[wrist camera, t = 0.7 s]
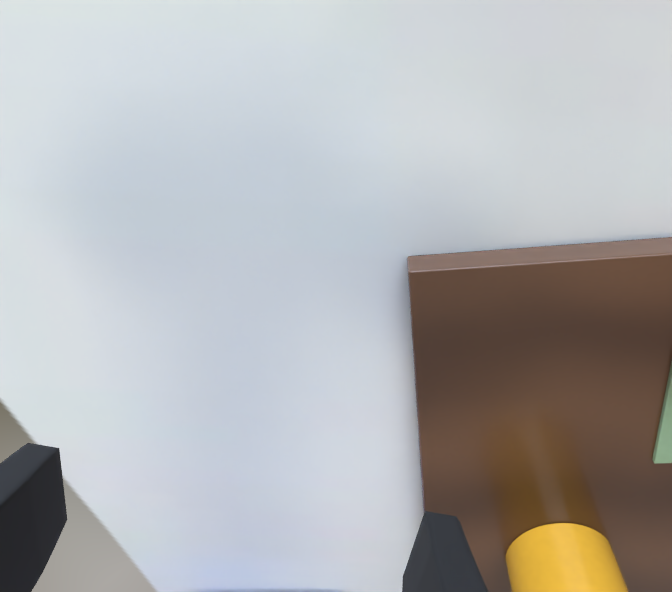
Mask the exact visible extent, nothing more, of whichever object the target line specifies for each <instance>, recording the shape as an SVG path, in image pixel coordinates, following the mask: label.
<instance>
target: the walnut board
mask: <svg viewBox="0 0 672 592" xmlns="http://www.w3.org/2000/svg"><path fill="white" fill-rule="evenodd" d="M407 262H408V277H409V293H410V308H411V323H412V339H413V354H414V369H415V385H416V400H417V415H418V431H419V446H420V461H421V477H422V492H423V508H424V513H425V511H428V512H434V513H440V514H446V515H451V516H456V517H457V518H458V520H459V521H460V523H461V526H462V528H463V531H464V534H465V536H466V539H467V542H468V544H469V547H470V549H471V552H472V554H473V557H474V559H475V561H476V564H477V566H478V569H479V571H480V573H481V576H482V578H483V580H484V583H485V585H486V587H487V589H488V592H511V590H510V585H509V580H508V575H507V570H506V565H505V556H506V553H507V550H508V548H509V546H510V545H511V543H512V542H513V541H514V540H515V539H516V538H517V537H519V536H520V535H521V534H523V533H525V532H526V531H528V530H530V529H533V528H535V527H538V526H542V525H546V524H553V523H573V524H579V525H584V526H587V527H590V528H592V529H594V530H596V531H598V532H599V533H601V534H602V535H603V536H605V537H606V539H607V540H608V541H609V542H610V544H611V546H612V548H613V551H614V553H615V556H616V558H617V561H618V564H619V566H620V569H621V571H622V574H623V576H624V579H625V582H626V584H627V587H628V589H629V592H672V237H668V238H654V239H640V240H627V241H613V242H599V243H585V244H572V245H558V246H544V247H530V248H517V249H503V250H489V251H475V252H462V253H448V254H434V255H420V256H409V257H408V258H407Z"/></svg>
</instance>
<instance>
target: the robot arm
mask: <svg viewBox="0 0 672 592" xmlns="http://www.w3.org/2000/svg"><path fill="white" fill-rule="evenodd" d="M66 521H67V514H66V505H65V496H64V487H63V479H62V470H61V461H60V453H59V448H54V447H49V446H43V445H37V444H31V443H27V444H26V445H24V446H23V447H21V448H20V449H19V450H17V451H16V452H15V453H13V454H12V455H11V456H9V457H8V458H7V459H5V460H4V461H3V462H2V463H0V592H31V591H32V589H33V588H34V586H35V584H36V583H37V581H38V579H39V577H40V575H41V574H42V572H43V570H44V568H45V566H46V564H47V562H48V560H49V558H50V555H51V554H52V551H53V550H54V547H55V545H56V543H57V541H58V539H59V536H60V534H61V531H62V529H63V527H64V525H65V523H66ZM402 592H488V589H487V587H486V585H485V583H484V580H483V578H482V576H481V573H480V571H479V569H478V566H477V564H476V561H475V559H474V557H473V554H472V552H471V549H470V547H469V544H468V542H467V539H466V536H465V534H464V531H463V528H462V526H461V523H460V521H459V520H458V518H457V517H456V516H451V515H446V514H440V513H434V512H428V511H425V513H424V516H423V519H422V522H421V525H420V528H419V531H418V534H417V537H416V539H415V542H414V545H413V548H412V551H411V554H410V557H409V560H408V563H407V566H406V569H405V572H404V575H403V590H402Z"/></svg>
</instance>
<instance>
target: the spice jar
mask: <svg viewBox="0 0 672 592" xmlns="http://www.w3.org/2000/svg"><path fill="white" fill-rule="evenodd" d="M505 565H506V570H507V575H508V580H509V585H510V590H511V592H629V589H628V587H627V584H626V582H625V579H624V576H623V574H622V571H621V569H620V566H619V564H618V561H617V558H616V556H615V553H614V551H613V548H612V546H611V544H610V542H609V541H608V540H607V539H606V537H605V536H603V535H602V534H601V533H599V532H598V531H596V530H594V529H592V528H590V527H587V526H584V525H579V524H573V523H553V524H546V525H542V526H538V527H535V528H533V529H530V530H528V531H526V532H525V533H523V534H521V535H520V536H519V537H517V538H516V539H515V540H514V541H513V542H512V543H511V545H510V546H509V548H508V550H507V553H506V556H505Z"/></svg>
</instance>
